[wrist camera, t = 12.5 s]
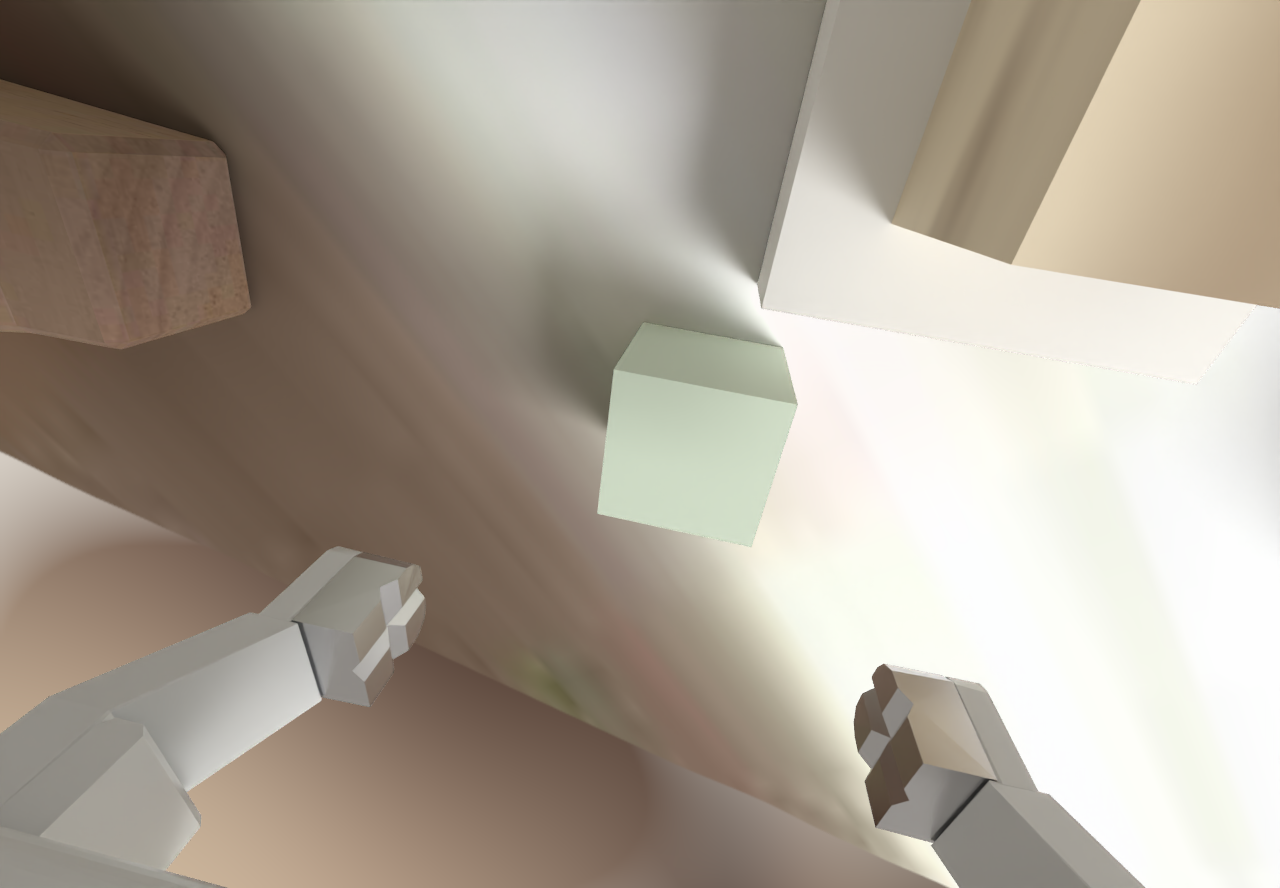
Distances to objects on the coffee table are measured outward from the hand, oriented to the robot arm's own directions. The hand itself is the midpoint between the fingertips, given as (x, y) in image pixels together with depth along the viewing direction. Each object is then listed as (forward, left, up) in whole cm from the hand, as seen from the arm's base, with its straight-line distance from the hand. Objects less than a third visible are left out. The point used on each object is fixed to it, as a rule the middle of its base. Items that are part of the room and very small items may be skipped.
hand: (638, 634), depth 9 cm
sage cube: (0, 0, -10) cm, 10 cm away
